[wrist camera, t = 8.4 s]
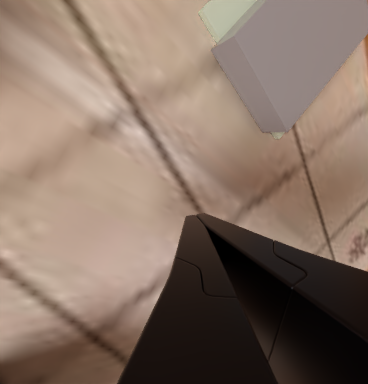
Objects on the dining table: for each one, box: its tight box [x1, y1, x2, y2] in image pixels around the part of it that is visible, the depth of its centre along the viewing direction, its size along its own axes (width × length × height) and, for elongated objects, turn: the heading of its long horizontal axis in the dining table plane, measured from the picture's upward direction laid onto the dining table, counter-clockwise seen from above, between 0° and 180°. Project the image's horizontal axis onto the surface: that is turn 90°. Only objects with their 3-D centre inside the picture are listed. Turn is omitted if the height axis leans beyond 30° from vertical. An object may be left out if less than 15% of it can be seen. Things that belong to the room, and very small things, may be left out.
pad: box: [198, 0, 285, 139], centre depth 22 cm, size 16×14×1 cm
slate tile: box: [211, 0, 368, 132], centre depth 20 cm, size 3×9×14 cm
